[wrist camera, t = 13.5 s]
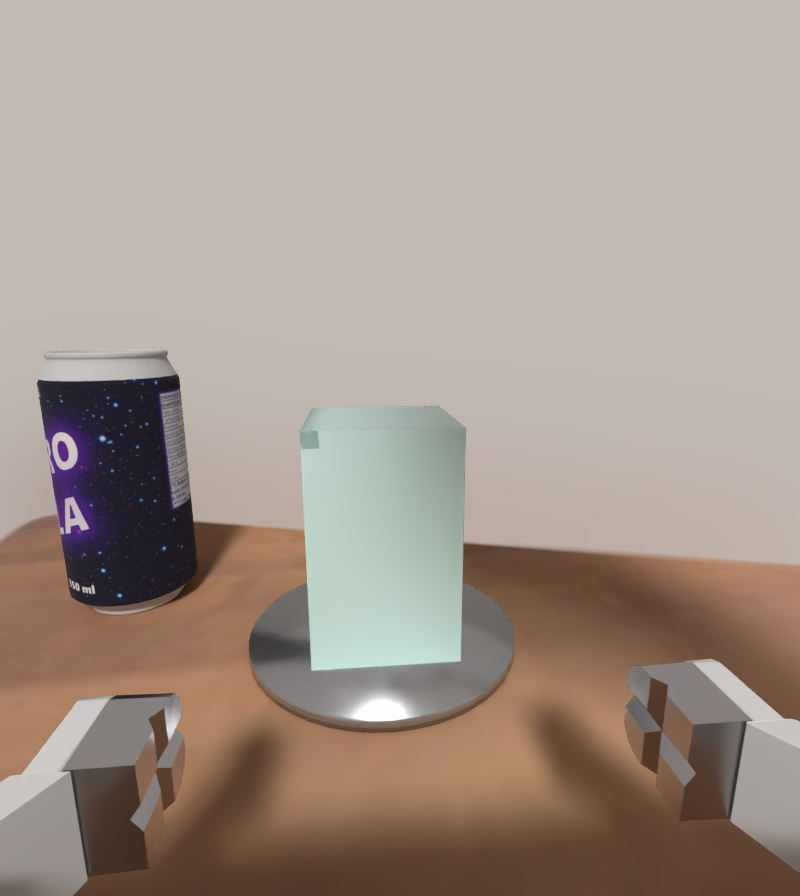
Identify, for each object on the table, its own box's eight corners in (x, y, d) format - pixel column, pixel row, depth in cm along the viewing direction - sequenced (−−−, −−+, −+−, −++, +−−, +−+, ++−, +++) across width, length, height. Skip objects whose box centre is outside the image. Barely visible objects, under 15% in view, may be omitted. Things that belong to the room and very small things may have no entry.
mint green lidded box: (436, 589, 25) (438, 405, 23) (460, 661, 19) (466, 427, 18) (320, 595, 24) (312, 408, 22) (311, 670, 19) (300, 431, 17)
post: (477, 572, 28) (481, 436, 26) (556, 719, 17) (571, 506, 16) (271, 581, 27) (262, 441, 25) (219, 745, 16) (197, 520, 15)
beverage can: (130, 564, 29) (103, 349, 27) (220, 573, 28) (201, 349, 25) (42, 616, 24) (-3, 353, 21) (149, 630, 23) (115, 353, 20)
